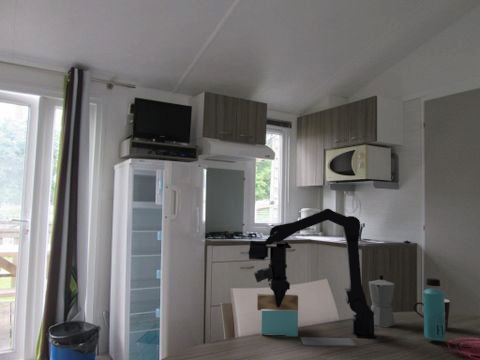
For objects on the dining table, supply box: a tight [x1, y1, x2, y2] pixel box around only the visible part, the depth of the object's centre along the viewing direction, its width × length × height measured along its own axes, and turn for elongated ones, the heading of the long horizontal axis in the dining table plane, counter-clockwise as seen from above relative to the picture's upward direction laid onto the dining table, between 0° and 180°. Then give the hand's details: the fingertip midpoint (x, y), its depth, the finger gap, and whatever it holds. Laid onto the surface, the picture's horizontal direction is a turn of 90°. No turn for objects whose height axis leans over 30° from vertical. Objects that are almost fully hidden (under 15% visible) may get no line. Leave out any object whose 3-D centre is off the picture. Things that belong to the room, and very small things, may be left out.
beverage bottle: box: [422, 277, 447, 341], centre depth 129 cm, size 6×7×20 cm
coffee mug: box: [413, 298, 451, 331], centre depth 146 cm, size 12×9×10 cm
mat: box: [300, 336, 357, 348], centre depth 125 cm, size 16×7×1 cm, turn 90°
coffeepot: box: [368, 274, 396, 327], centre depth 150 cm, size 15×9×18 cm, turn 150°
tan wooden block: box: [256, 293, 299, 312], centre depth 140 cm, size 14×3×5 cm, turn 91°
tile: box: [260, 309, 299, 337], centre depth 132 cm, size 12×2×8 cm, turn 90°
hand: (277, 306), depth 139 cm, fingers closed on tan wooden block, 3 cm apart
